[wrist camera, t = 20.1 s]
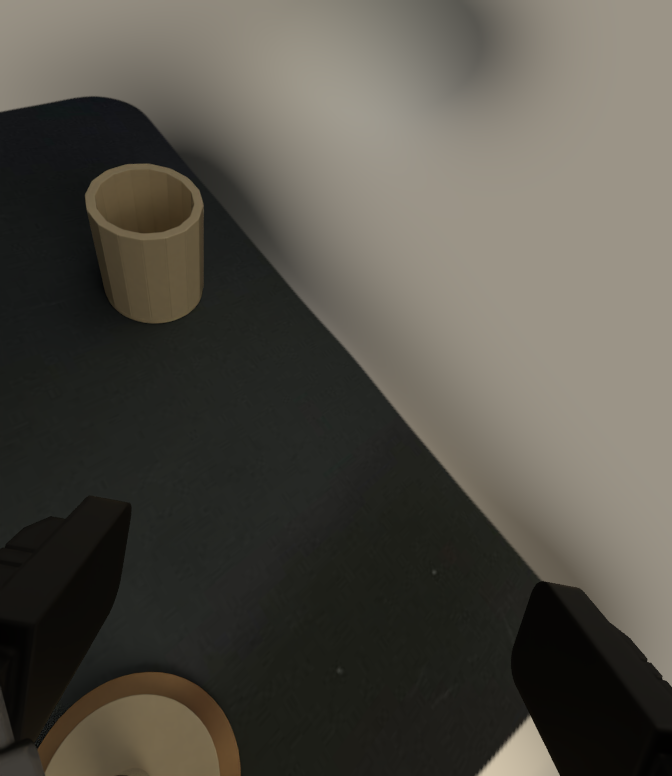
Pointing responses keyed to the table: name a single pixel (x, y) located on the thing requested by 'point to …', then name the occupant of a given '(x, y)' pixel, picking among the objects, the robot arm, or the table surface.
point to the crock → (148, 240)
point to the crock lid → (137, 741)
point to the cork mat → (156, 685)
